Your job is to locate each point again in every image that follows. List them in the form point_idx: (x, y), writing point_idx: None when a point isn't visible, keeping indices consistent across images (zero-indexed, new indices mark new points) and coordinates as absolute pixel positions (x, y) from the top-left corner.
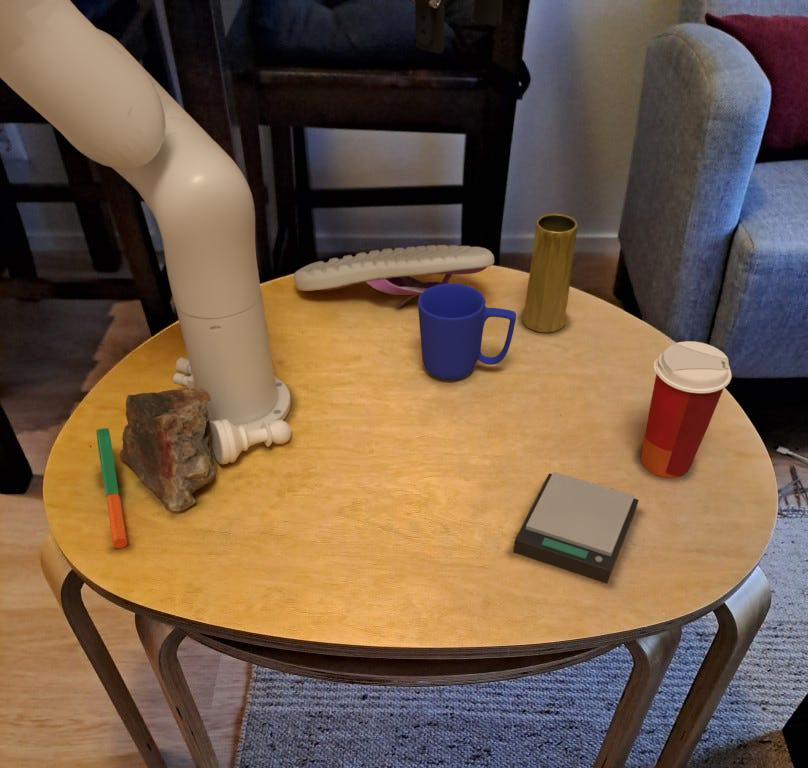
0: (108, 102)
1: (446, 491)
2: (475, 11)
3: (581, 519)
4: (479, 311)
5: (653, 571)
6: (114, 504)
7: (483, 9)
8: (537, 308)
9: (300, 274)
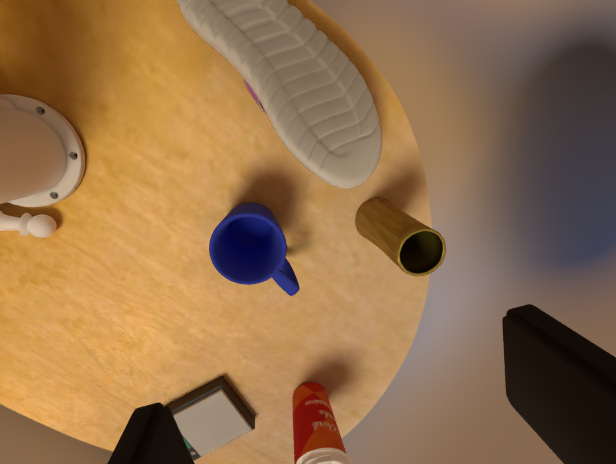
0: None
1: (153, 344)
2: (528, 340)
3: (205, 430)
4: (260, 282)
5: (227, 453)
6: None
7: (540, 385)
8: (365, 232)
9: None
